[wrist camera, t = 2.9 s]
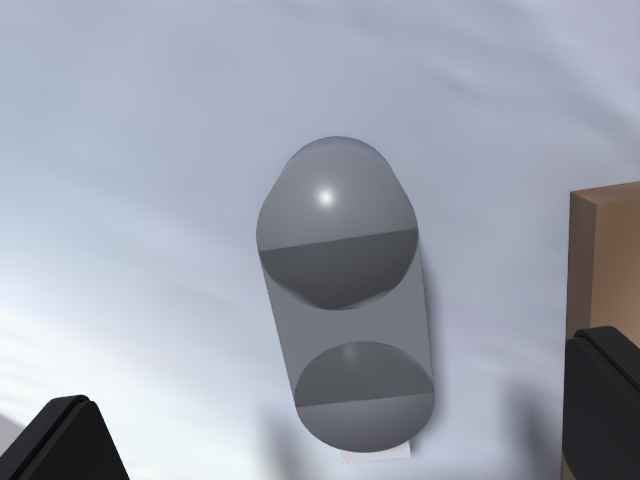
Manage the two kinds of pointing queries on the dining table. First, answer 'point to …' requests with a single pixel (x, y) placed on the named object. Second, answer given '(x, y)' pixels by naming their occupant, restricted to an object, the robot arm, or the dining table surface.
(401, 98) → the dining table surface
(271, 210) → the grey double dome block
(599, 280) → the walnut board
